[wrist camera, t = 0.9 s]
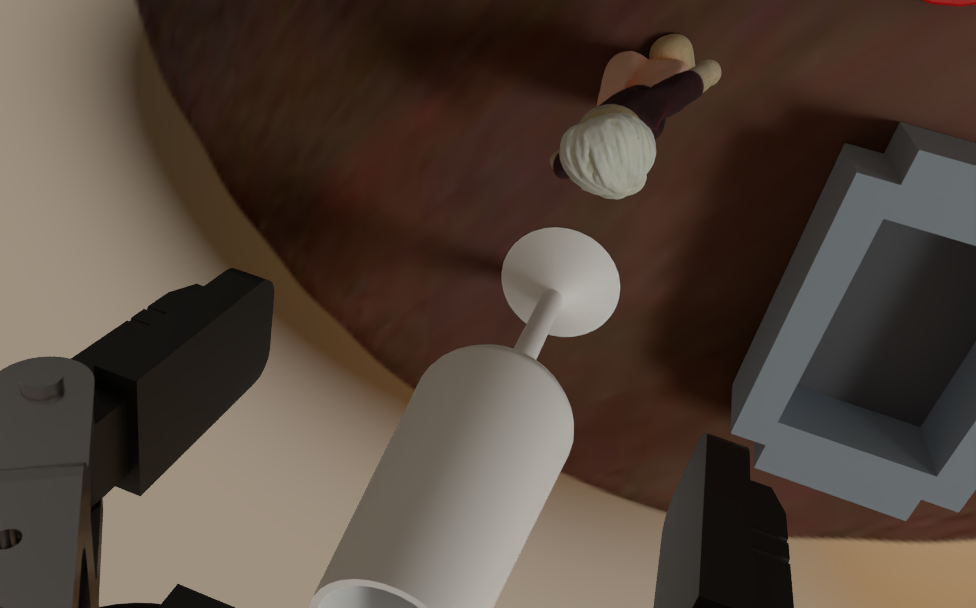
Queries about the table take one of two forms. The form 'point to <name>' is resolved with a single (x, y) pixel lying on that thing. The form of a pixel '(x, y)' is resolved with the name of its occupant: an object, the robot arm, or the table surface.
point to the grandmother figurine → (631, 117)
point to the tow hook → (952, 2)
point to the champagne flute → (475, 447)
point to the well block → (874, 334)
